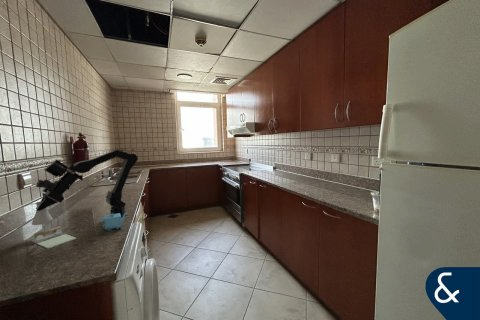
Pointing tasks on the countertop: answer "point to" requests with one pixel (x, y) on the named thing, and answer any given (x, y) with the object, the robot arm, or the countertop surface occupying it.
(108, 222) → the teapot
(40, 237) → the cradle
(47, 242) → the pad
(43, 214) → the flask
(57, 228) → the rod
